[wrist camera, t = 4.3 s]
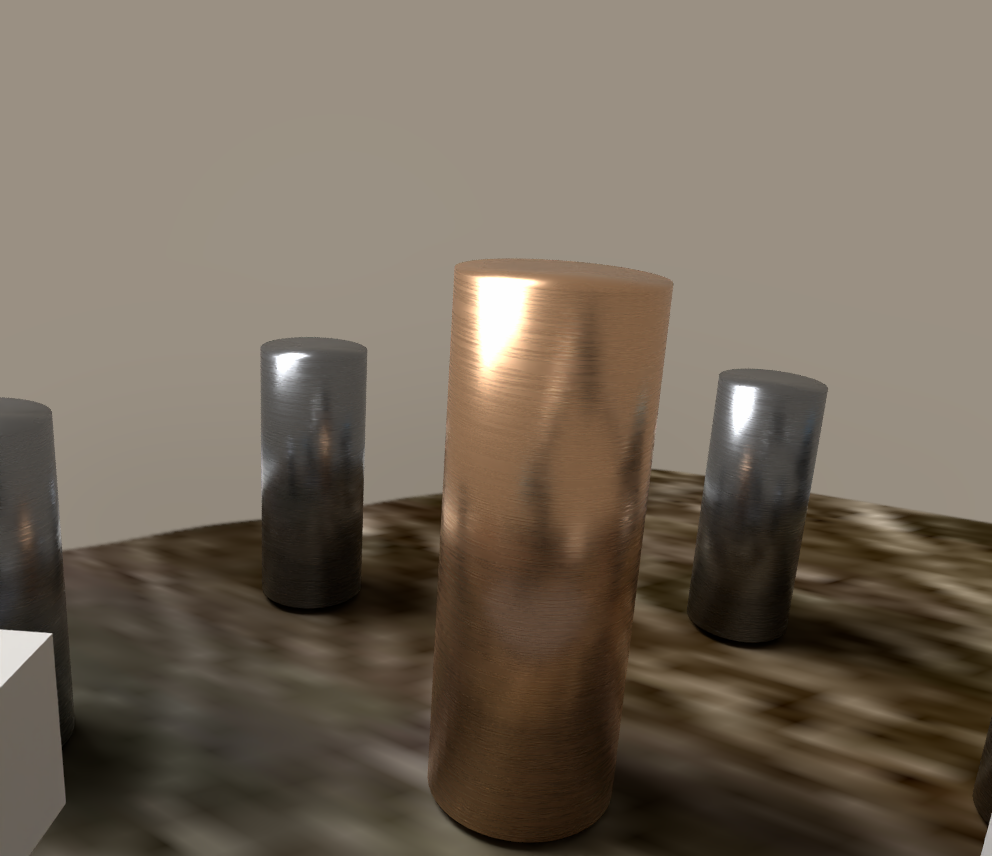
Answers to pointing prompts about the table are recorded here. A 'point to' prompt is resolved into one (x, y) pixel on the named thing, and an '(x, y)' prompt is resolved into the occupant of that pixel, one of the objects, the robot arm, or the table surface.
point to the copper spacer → (541, 537)
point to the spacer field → (339, 502)
